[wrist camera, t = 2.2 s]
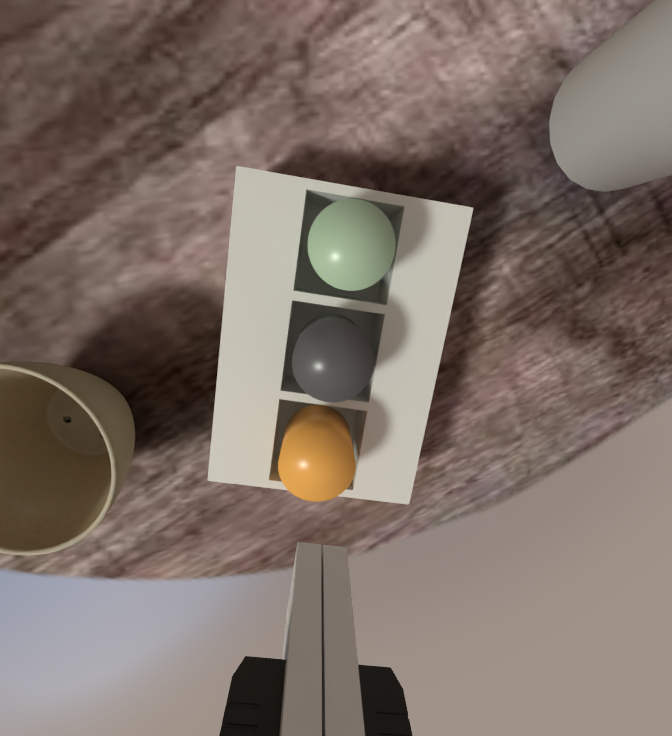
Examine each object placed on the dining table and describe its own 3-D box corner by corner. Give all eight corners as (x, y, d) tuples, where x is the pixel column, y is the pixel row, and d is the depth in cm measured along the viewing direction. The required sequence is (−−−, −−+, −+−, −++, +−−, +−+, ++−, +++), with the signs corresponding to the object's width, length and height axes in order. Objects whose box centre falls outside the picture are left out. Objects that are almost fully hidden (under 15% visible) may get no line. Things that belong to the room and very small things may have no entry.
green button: (315, 206, 21) (314, 191, 17) (388, 219, 22) (403, 207, 18) (305, 281, 22) (301, 283, 18) (375, 293, 23) (386, 296, 19)
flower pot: (182, 362, 26) (130, 394, 19) (155, 497, 28) (100, 573, 21) (20, 321, 25) (-99, 339, 18) (5, 465, 27) (-107, 533, 20)
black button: (301, 308, 23) (297, 315, 19) (370, 319, 23) (381, 328, 19) (292, 376, 23) (286, 396, 20) (359, 385, 24) (366, 407, 20)
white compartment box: (250, 184, 23) (236, 165, 19) (448, 218, 24) (473, 207, 20) (223, 451, 27) (207, 480, 23) (396, 472, 28) (408, 504, 24)
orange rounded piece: (289, 400, 24) (283, 425, 20) (355, 409, 24) (361, 435, 20) (280, 461, 25) (273, 496, 21) (344, 469, 25) (349, 505, 21)
